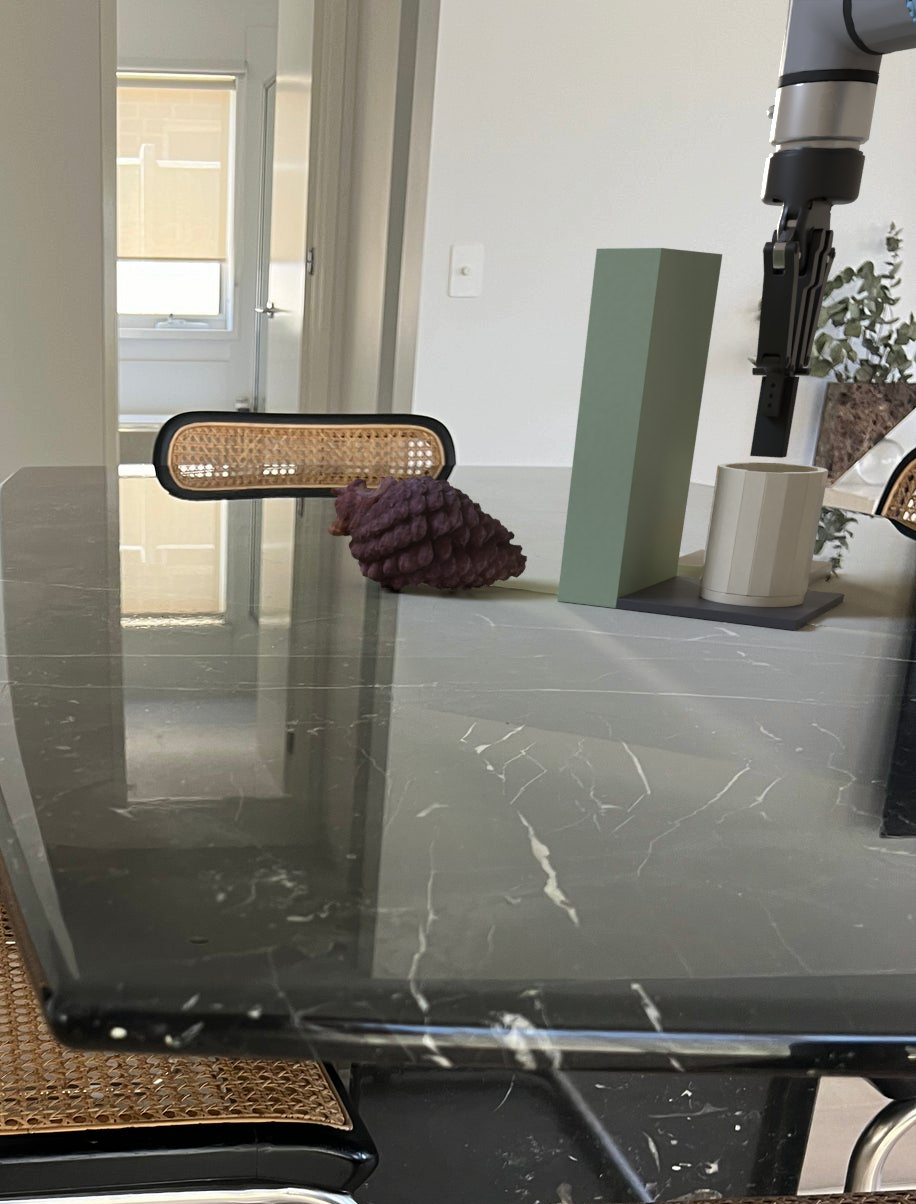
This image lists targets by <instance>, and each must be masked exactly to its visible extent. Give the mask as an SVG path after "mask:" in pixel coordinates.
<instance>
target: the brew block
mask: <svg viewBox="0 0 916 1204" xmlns="http://www.w3.org/2000/svg"><path fill="white" fill-rule="evenodd" d="M704 553H705V549H699V550H696V551H694V552H690V553H688V554H685V555H682V556H679V561H678V568H677V575H676V576H684V577H693V578H701V573H702V566H703V560H704ZM833 564H834V562H832V561H823V560H814V559H812V565H811V571H810V576H809V582H808V587H809V586H810V585H813V584H814V583H817V582H819V581H820V580H821V581H822V579H825V578H826V577H829V576H831V575H832V570H833Z"/></svg>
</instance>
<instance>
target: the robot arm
mask: <svg viewBox="0 0 916 1204" xmlns="http://www.w3.org/2000/svg"><path fill="white" fill-rule="evenodd" d="M787 7H788V8H787V15H786V21H785V28H784V36H783V43H782V51H781V56H780V57H781V59H780V63H779V64H780V65H779V72H778V81H777V88H776V94H775V95H776V97H775V104H773V105H771V106H769V108H768V109H767V111H766V112H767V113H766V114H767V118H768V119H770V120H772V122H771V123H772V124H771V131H770V136H769V137H770V138H769V143H770V145H771V146H772V147H774V148H776V149H775V152H772V153H770V154H769V156H768V157H766V159H765V160H766V161H765V167H764V173H763V181H762V186H761V194H760V199H761V202H762V203H763V204H764V205H767V206H773V207H774V206H775V207H782V209H781V213H780V217H779V220H778V223H777V228H776V229H774V231H773V233H772V238H771V241H766V242H765V243H764V246H763V249H762V256H763V258H762V260H763V280H762V289H761V290H762V291H761V302H760V303H761V304H760V313H759V314H760V316H759V324H758V325H759V326H758V336H757V337H758V338H757V349H756V358H755V366H756V367H752V368H751V369H752V370H751V374H752V376H761V381H760V389H759V394H758V395H759V396H758V401H757V408H756V416H755V421H754V428H753V435H752V442H751V447H750V453H749V457H762V458H776V459H777V458H778V459H782V458H787V456H788V449H789V443H790V437H791V431H792V425H793V419H794V413H795V406H796V401H797V394H798V388H799V384H800V383H799V381H800V376H801V377H802V376H803V377H809V376H810V375H811V373H812V369H813V368H812V367H808V366H809V364H810V362H811V355H812V352H813V351H812V350H813V346H814V341H815V337H816V333H817V329H818V324H819V320H820V314H821V311H822V306H823V301H824V298H825V297H824V296H825V293H826V288H827V283H828V280H829V276H830V273H831V269H832V266H833V263H834V260H835V258H836V254H837V252H836V247H835V246H834V247H833V243H834V230H833V229H831V216H832V214H831V211H832V208H833V207H834V206H837V205H838V206H840V205H850V204H852V203H854V202H856V201H857V199H858V198H859V195H860V190H861V184H862V179H863V173H864V168H865V167H864V166H865V161H866V155H865V154H864V151H862V150H860V147H861V145H865V144H866V143H867V142H868V141H869V140H870V136H871V129H872V122H873V115H874V111H875V110H874V109H875V104H876V97H877V91H878V85H879V79H880V69H881V65H882V60H883V56H884V55H889V54H893V53H897V52H903V51H907V50H914V49H916V0H788V6H787Z"/></svg>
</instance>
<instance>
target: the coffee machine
mask: <svg viewBox="0 0 916 1204" xmlns="http://www.w3.org/2000/svg"><path fill="white" fill-rule="evenodd" d="M722 261H723V253H715V252H704V251H695V250H685V249H675V248H666V247H631V248H630V247H617V248H614V247H613V248H611V247H609V248H606V247H605V248H596V252H595V261H594V270H593V278H592V286H591V287H592V288H591V295H590V306H589V314H588V323H587V332H586V340H585V341H586V342H585V349H584V350H585V351H584V358H583V360H584V361H583V367H582V377H581V385H580V396H579V404H578V413H577V420H576V421H577V422H576V431H575V438H574V439H575V440H574V447H573V448H574V449H573V458H572V465H571V476H570V484H569V492H568V493H569V494H568V501H567V502H568V504H567V510H566V511H567V512H566V521H565V527H564V528H565V529H564V539H563V547H562V556H561V565H560V573H559V584H558V593H557V600H556V601H557V602H561V603H571V604H578V605H586V606H593V607H602V608H610V609H619V610H627V611H633V612H634V611H635V612H644V613H650V614H658V615H659V614H660V615H667V616H675V617H683V618H691V619H700V620H707V621H713V622H714V621H715V622H723V623H731V624H740V625H747V626H756V627H763V628H771V629H779V630H788V631H797V630H798V629H801V628H802V627H804V626H806V625H807V624H808V623H809V622H811V621H813V620H815V619H816V618H819V617H821V616H822V615H824V614H825V613H827V612H829V611H831V610H832V609H834V608H836V607H838V606H839V605H841V604H843V603H844V599H845V594H844V593H839V592H838V593H837V592H830V591H829V592H828V591H821V590H810V589H807V592H806V593H805V599H804V602H803V603H802V604H800V605H796V606H789V607H749V606H738V605H730V604H724V603H718V602H714V601H710V600H707V599H704V598H702V597H700V596H699V591H700V585H701V584H700V579H701V578H693V577H684V576H676V575H677V568H678V561H679V557H680V554H681V546H682V540H683V532H684V525H685V518H686V511H687V505H688V498H689V492H690V491H689V490H690V485H691V484H690V483H691V478H692V470H693V462H694V456H695V450H696V449H695V448H696V441H697V435H698V428H699V420H700V415H701V414H700V413H701V409H702V408H701V407H702V406H701V405H702V400H703V394H704V393H703V392H704V386H705V379H706V372H707V365H708V358H709V352H710V346H711V345H710V344H711V338H712V331H713V324H714V316H715V310H716V302H717V295H718V289H719V281H720V275H721V267H722Z"/></svg>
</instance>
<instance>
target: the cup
mask: <svg viewBox="0 0 916 1204" xmlns="http://www.w3.org/2000/svg"><path fill="white" fill-rule="evenodd" d="M828 476H829V470H828V469H827V468H826V467H825V468H824V467H819V466H814V465H806V464H805V465H804V464H794V463H782V462H781V463H780V462H779V463H778V462H777V463H776V462H728V463H727V462H726V463H720V464H718V465H717V466H716V475H715V480H714V487H713V494H712V501H711V506H710V514H709V520H708V526H707V527H708V528H707V534H706V540H705V546H704V550H705V553H704V560H703V566H702V573H701V579H700V584H701V585H700V591H699V596H700V597H702V598H704V599H707V600H710V601H714V602H718V603H724V604H730V605H738V606H749V607H789V606H796V605H800V604H802V603H803V602H804V599H805V593H806V592H807V590H808V587H809V586H808V582H809V576H810V571H811V565H812V560H814V553H815V549H816V548H815V547H816V542H817V536H818V530H819V526H820V521H821V514H822V509H823V504H824V497H825V492H826V488H827V487H826V486H827V481H828Z"/></svg>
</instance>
